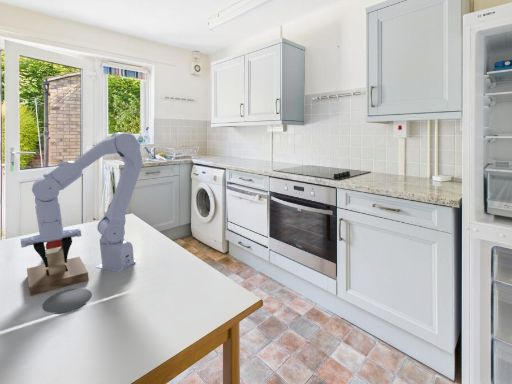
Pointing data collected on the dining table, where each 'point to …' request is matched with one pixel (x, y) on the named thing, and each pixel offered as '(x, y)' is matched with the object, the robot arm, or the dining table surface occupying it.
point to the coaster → (67, 300)
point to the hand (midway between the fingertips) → (56, 263)
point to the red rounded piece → (53, 244)
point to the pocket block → (56, 277)
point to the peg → (55, 261)
